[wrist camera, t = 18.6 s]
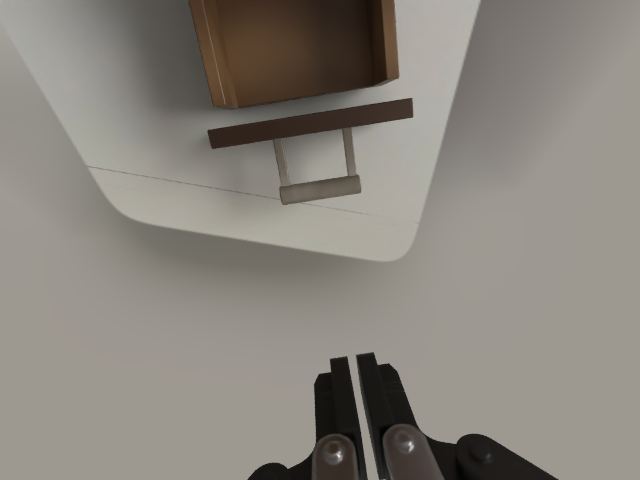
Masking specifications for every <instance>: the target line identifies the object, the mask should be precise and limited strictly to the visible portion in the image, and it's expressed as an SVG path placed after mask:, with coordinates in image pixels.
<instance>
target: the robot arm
mask: <svg viewBox="0 0 640 480" xmlns="http://www.w3.org/2000/svg"><path fill="white" fill-rule="evenodd" d="M356 359H357V366H358V374H359V381H360V388H361V394H362V399H363V404H364V409H365V414H366V419H367V423H368V429H369V433H370V438H371V443H372V448H373V452H374V457H375V462H376V467H377V472H378V476H379V480H382V479H386V480H558V479H556V478H555V477H553V476H552V475H549V474H548V473H547V472H545V471H543V470H542V469H540V468H538V467H537V466H535V465H533V464H532V463H530V462H529V461H527V460H525V459H524V458H522V457H520V456H519V455H517V454H515V453H514V452H512V451H510V450H509V449H507V448H506V447H504V446H502V445H501V444H499V443H497V442H496V441H494V440H492V439H491V438H489V437H487V436H484V435H480V434H468V435H465V436H463V437H461V438H460V439H459V440H458V442H457V444H451V443H445V442H440V441H436V440H433V439H431V438H429V437H428V436H426V435H425V434H424V433H423V432H422V431H421V430H420V429H419V427H418V426H417V424H416V421H415V418H414V415H413V413H412V410H411V407H410V405H409V402H408V399H407V397H406V394H405V392H404V388H403V386H402V384H401V380H400V377H399V375H398V373H397V371H396V370H395V369H394V368H393V367H392V366H391V365H390V364H389V363H388V364H382V365H377V362H376V359H375V355H374V353H373V352H372V353H365V354H359V355H356ZM330 365H331V372H330V373H323V374H319V375H318V377H317V379H316V382H315V384H314V390H315V391H314V392H315V419H316V444H315V447H314V449H313V451H312V453H311V454H310V456H309V457H308V458H307V459H305V460H304V461H303V462H301V463H300V464H297V465H295V466H293V467H291V468H289V469H287V468H286V467H285V466H284V465H282V464H280V463H268V464H265V465H263V466H261V467H259V468H258V469H257V470H255V472H254V473H253V474H252V475H251V476H250V477H249V478H248V480H368V478H367V472H366V465H365V458H364V451H363V444H362V437H361V431H360V424H359V419H358V413H357V408H356V403H355V397H354V391H353V386H352V380H351V375H350V369H349V365H348V358H347V356H346V357H339V358H333V359H330Z"/></svg>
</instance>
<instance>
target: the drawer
mask: <svg viewBox="0 0 640 480" xmlns="http://www.w3.org/2000/svg"><path fill="white" fill-rule="evenodd" d="M189 4H190V8H191V13H192V17H193V21H194V25H195V30H196V34H197V38H198V42H199V47H200V51H201V55H202V60H203V64H204V68H205V72H206V77H207V81H208V85H209V89H210V94H211V98H212V102H213V106H214V107H217V108H224V109H237V108H243V107H249V106H256V105H262V104H268V103H275V102H281V101H287V100H293V99H300V98H306V97H312V96H319V95H325V94H331V93H338V92H344V91H350V90H357V89H363V88H369V87H376V86H381V85H384V84H386V83H388V82H391V81H393V80H395V79H398V78H399V65H398V50H397V35H396V20H395V4H394V0H189ZM406 118H413V101H412V98H408V99H402V100H395V101H389V102H383V103H376V104H370V105H364V106H357V107H351V108H345V109H338V110H332V111H326V112H319V113H313V114H307V115H300V116H294V117H288V118H281V119H275V120H269V121H262V122H256V123H250V124H243V125H237V126H231V127H224V128H218V129H212V130H208V135H209V139H210V143H211V147H212V149H216V148H222V147H228V146H235V145H241V144H247V143H254V142H260V141H266V140H273V142H274V148H275V153H276V159H277V164H278V169H279V175H280V180H281V185H282V186H281V187H280V197H281V202H282V204H283V205H287V204H294V203H300V202H306V201H313V200H319V199H326V198H332V197H338V196H345V195H351V194H358V193H361V182H360V177H359V175H356V166H355V157H354V148H353V139H352V131H351V127H355V126H362V125H368V124H374V123H381V122H387V121H394V120H400V119H406ZM336 129H342V132H343V141H344V149H345V157H346V165H347V173H348V176H345V177H339V178H332V179H326V180H319V181H313V182H307V183H300V184H294V185H290V181H289V176H288V170H287V165H286V159H285V153H284V148H283V142H282V138H285V137H292V136H298V135H305V134H311V133H317V132H324V131H330V130H336Z"/></svg>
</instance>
